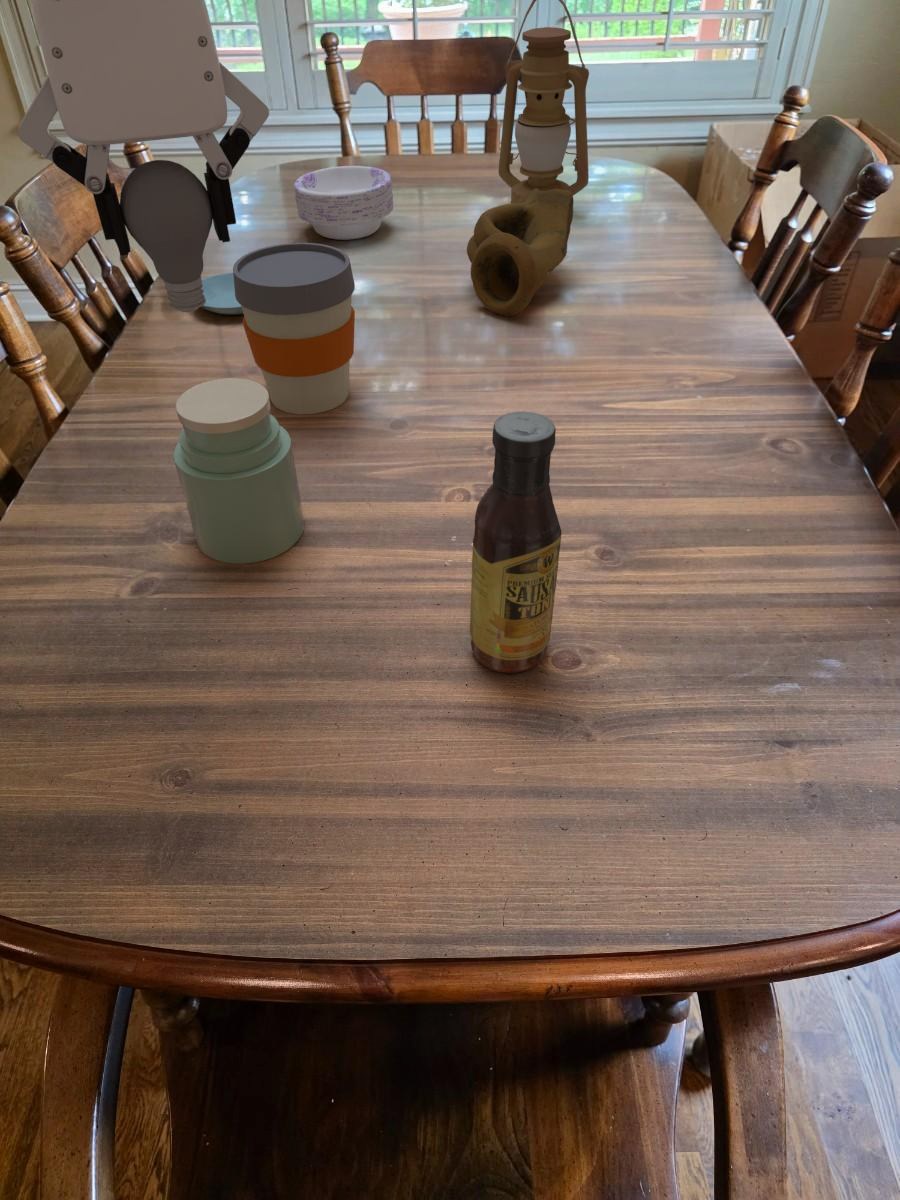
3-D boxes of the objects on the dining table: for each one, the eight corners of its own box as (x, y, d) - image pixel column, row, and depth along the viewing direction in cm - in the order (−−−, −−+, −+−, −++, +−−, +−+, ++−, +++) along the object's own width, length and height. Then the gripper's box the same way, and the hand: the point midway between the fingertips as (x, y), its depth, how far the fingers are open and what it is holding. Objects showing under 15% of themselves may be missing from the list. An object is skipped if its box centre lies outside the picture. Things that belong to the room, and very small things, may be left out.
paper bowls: (292, 221, 143) (285, 169, 138) (381, 210, 147) (378, 159, 141) (309, 253, 132) (302, 198, 127) (405, 240, 136) (402, 187, 130)
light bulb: (160, 292, 66) (125, 148, 59) (238, 292, 66) (212, 148, 59) (136, 327, 61) (95, 175, 55) (220, 327, 61) (189, 175, 54)
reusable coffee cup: (306, 359, 106) (289, 234, 96) (386, 386, 101) (377, 256, 91) (231, 402, 99) (204, 270, 89) (314, 434, 93) (294, 298, 83)
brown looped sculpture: (636, 220, 119) (551, 239, 104) (595, 303, 128) (511, 332, 113) (535, 153, 124) (441, 162, 109) (502, 238, 133) (410, 257, 118)
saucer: (288, 288, 123) (286, 272, 121) (267, 324, 114) (264, 307, 112) (207, 286, 124) (204, 270, 122) (180, 322, 115) (176, 305, 113)
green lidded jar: (173, 546, 79) (134, 415, 70) (239, 489, 86) (211, 362, 77) (263, 576, 76) (235, 442, 67) (324, 514, 82) (306, 384, 73)
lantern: (588, 202, 148) (605, -12, 128) (584, 223, 140) (602, -1, 120) (500, 199, 150) (504, -12, 130) (491, 219, 142) (494, -2, 122)
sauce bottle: (508, 690, 65) (517, 466, 52) (453, 647, 69) (449, 427, 55) (568, 649, 68) (591, 428, 55) (512, 609, 72) (521, 393, 59)
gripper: (245, -99, 53) (287, 210, 65) (-61, -86, 49) (44, 240, 61) (266, -91, 48) (307, 244, 60) (-76, -76, 44) (42, 279, 56)
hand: (173, 239), depth 60 cm, fingers closed on light bulb, 6 cm apart
